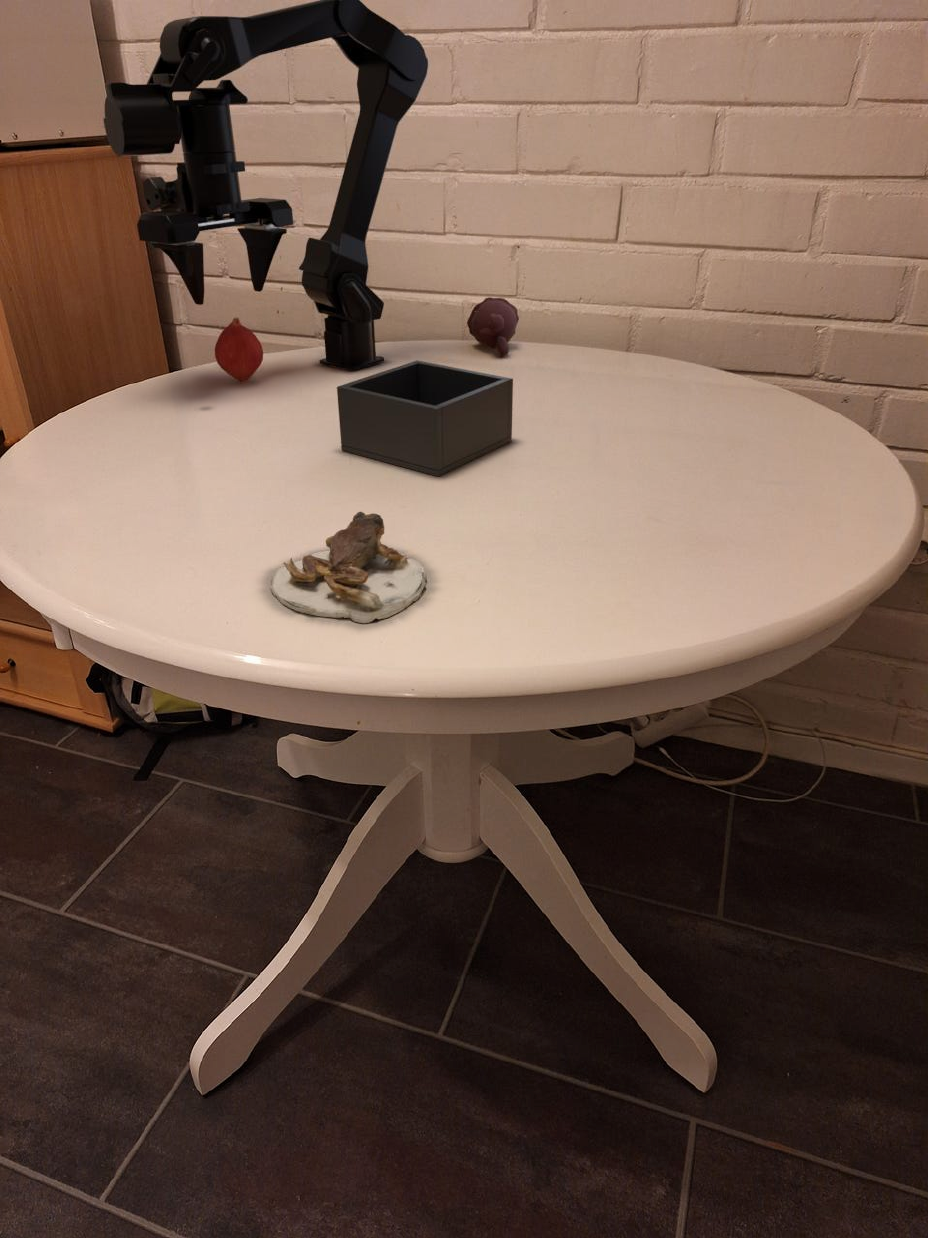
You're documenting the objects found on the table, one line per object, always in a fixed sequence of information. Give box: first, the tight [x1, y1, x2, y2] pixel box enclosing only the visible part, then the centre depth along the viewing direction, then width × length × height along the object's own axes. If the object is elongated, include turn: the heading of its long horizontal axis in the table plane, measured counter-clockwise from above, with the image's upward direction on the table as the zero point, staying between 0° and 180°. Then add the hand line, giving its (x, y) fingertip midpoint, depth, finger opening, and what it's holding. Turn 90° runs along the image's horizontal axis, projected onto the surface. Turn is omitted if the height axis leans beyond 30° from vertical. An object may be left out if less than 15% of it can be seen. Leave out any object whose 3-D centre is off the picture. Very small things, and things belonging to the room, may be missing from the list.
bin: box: [336, 359, 514, 477], centre depth 92 cm, size 13×13×7 cm
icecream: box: [466, 296, 520, 358], centre depth 129 cm, size 7×7×15 cm
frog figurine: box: [270, 511, 427, 624], centre depth 67 cm, size 12×12×4 cm
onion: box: [214, 317, 264, 384], centre depth 113 cm, size 6×6×8 cm
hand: (229, 297), depth 109 cm, fingers open, 9 cm apart
